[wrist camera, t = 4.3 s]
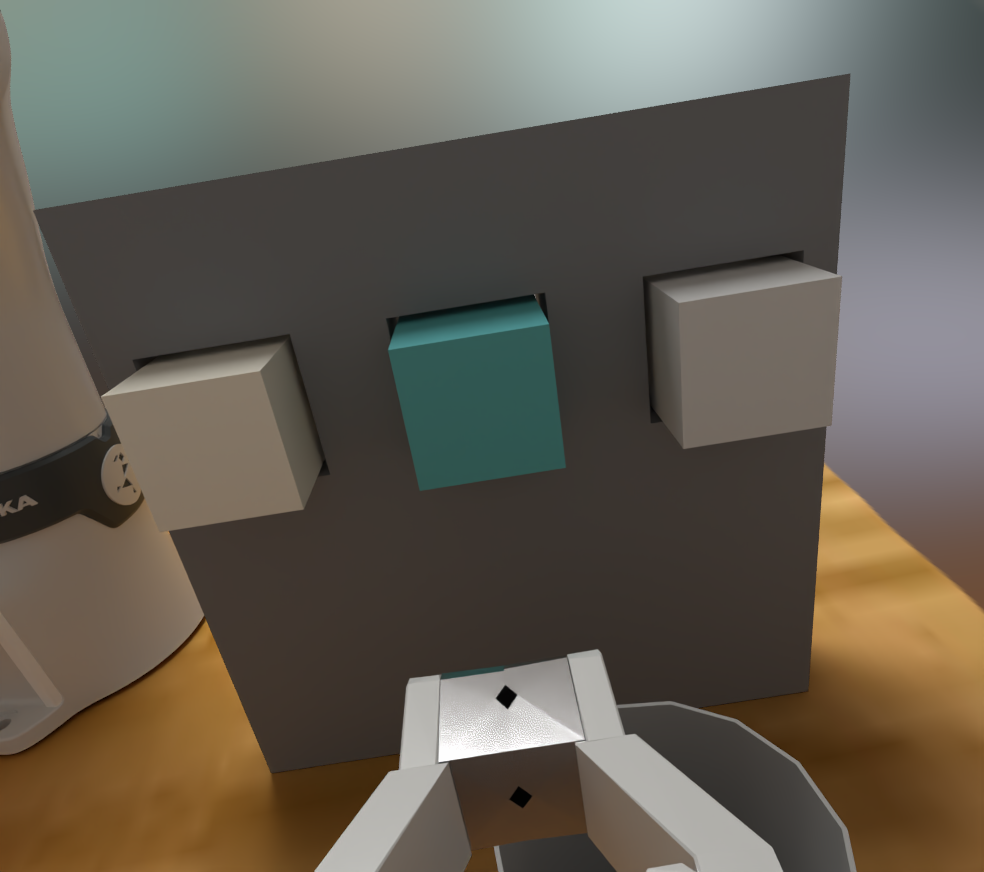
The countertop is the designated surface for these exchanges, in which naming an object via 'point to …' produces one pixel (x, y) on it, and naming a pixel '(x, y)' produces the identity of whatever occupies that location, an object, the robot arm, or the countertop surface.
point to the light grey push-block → (742, 348)
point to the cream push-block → (219, 433)
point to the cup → (715, 794)
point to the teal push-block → (478, 392)
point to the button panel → (504, 501)
